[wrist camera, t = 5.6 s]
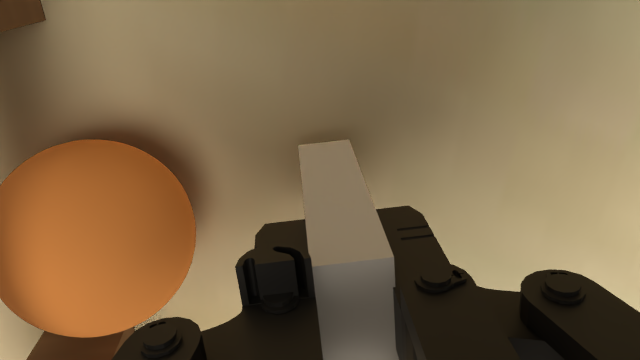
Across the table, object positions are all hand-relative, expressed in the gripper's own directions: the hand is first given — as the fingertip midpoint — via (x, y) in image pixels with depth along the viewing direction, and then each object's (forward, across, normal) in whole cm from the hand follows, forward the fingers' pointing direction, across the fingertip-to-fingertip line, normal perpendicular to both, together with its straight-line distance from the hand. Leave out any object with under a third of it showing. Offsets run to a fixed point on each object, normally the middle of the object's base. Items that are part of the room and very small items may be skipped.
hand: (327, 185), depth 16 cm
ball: (-1, -7, 0) cm, 7 cm away
